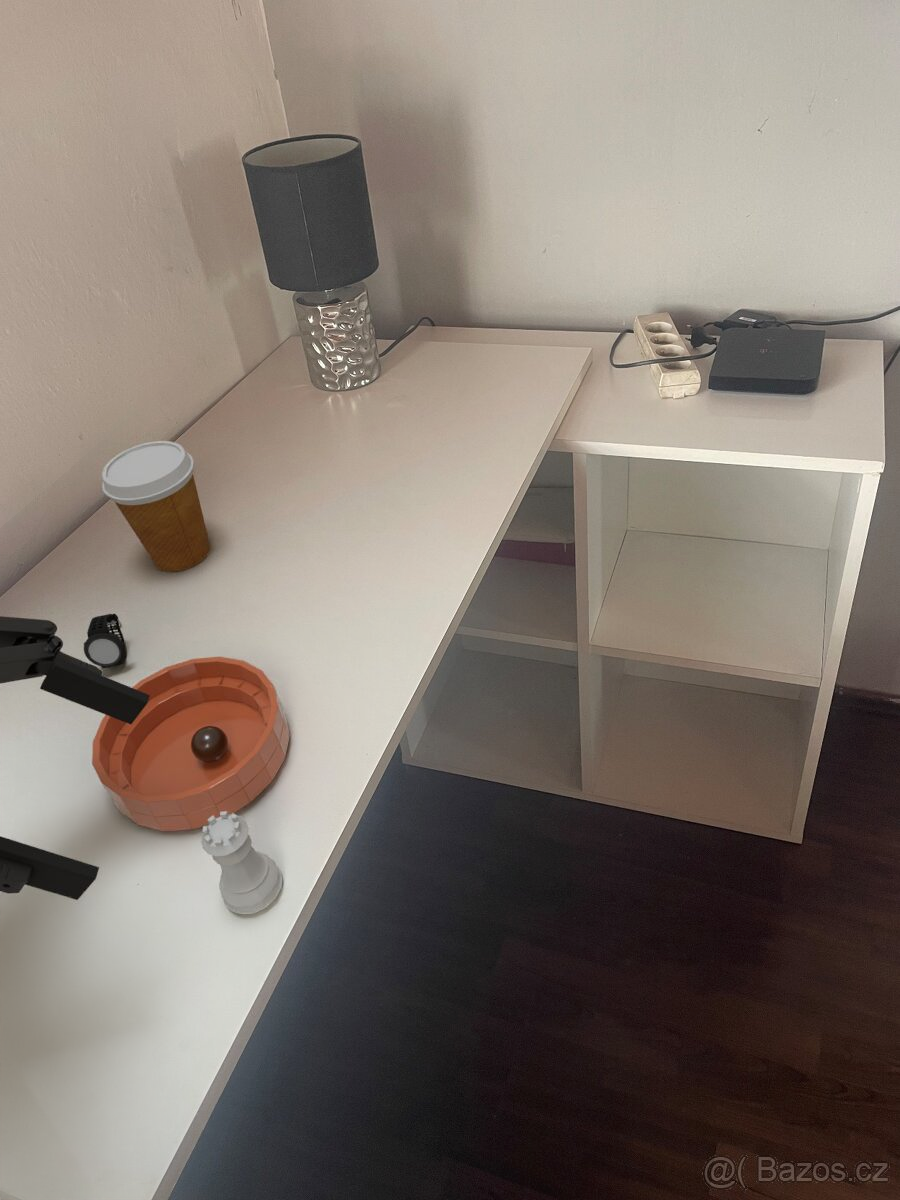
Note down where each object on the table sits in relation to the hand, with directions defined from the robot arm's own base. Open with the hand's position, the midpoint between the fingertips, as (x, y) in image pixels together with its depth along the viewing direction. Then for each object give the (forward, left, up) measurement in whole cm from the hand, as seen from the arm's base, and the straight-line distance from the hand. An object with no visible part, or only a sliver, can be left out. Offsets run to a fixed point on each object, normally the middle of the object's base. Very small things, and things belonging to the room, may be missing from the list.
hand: (117, 789), depth 56 cm
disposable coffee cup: (+37, +23, -13) cm, 45 cm away
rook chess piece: (+2, -5, -13) cm, 14 cm away
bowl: (+12, +5, -13) cm, 18 cm away
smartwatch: (+21, +20, -13) cm, 32 cm away
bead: (+12, +4, -11) cm, 16 cm away
